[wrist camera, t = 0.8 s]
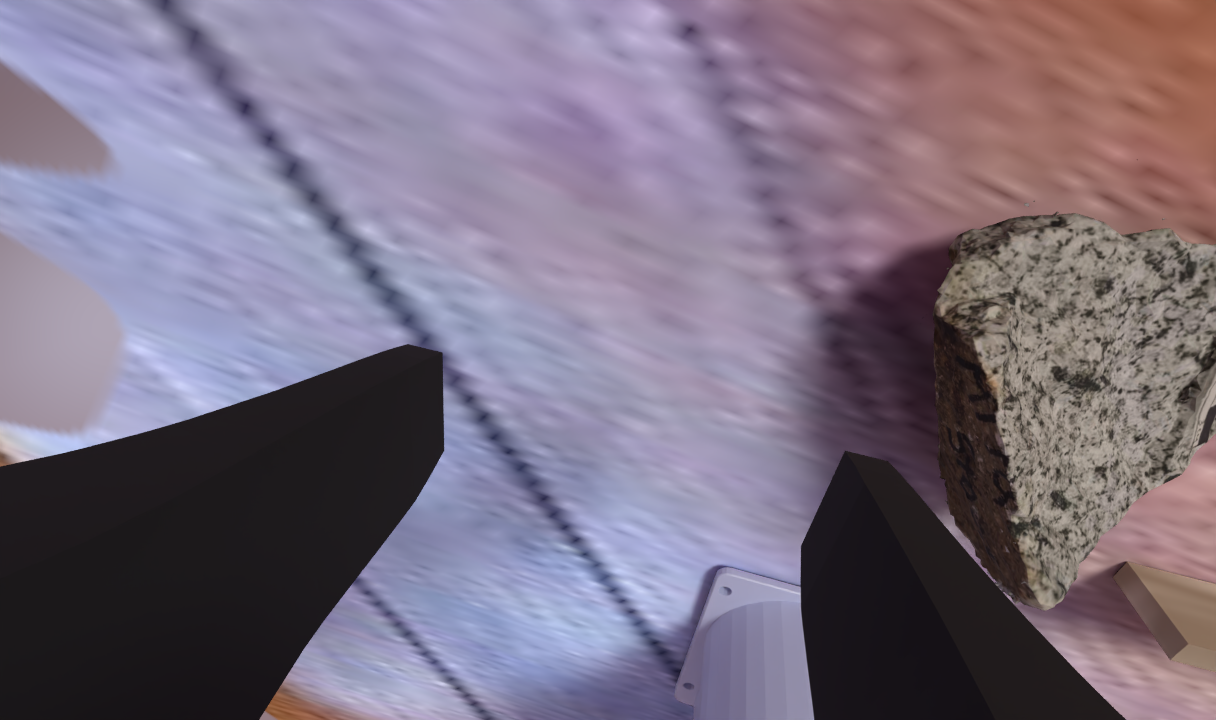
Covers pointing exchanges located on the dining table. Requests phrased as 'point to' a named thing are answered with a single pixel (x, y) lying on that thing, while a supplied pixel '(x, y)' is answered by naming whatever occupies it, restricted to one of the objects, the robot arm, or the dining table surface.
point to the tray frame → (1174, 612)
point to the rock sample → (1067, 386)
